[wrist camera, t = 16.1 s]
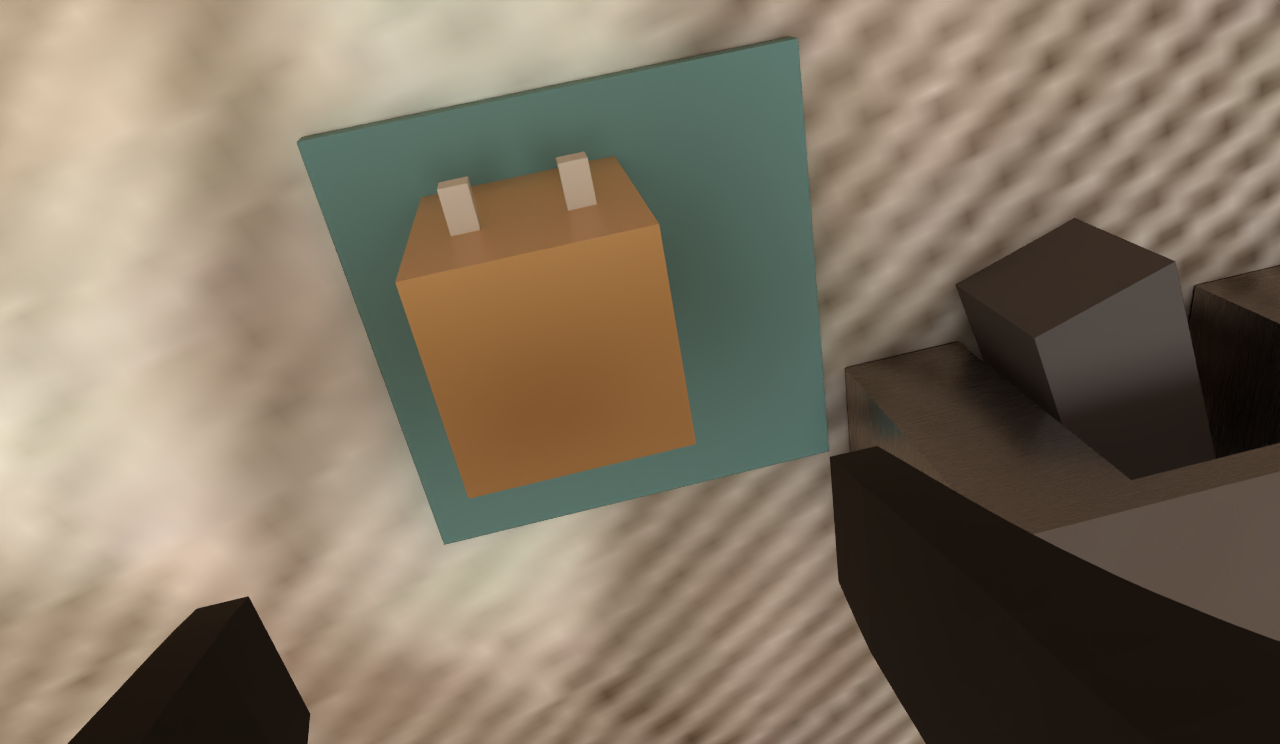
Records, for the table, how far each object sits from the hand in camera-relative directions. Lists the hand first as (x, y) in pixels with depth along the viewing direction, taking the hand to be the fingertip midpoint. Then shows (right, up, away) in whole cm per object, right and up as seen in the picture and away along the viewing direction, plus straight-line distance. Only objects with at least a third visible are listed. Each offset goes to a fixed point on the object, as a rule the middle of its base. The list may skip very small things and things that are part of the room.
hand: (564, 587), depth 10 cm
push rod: (+13, +2, +12) cm, 18 cm away
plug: (-1, +5, +7) cm, 9 cm away
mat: (0, +4, +9) cm, 9 cm away
